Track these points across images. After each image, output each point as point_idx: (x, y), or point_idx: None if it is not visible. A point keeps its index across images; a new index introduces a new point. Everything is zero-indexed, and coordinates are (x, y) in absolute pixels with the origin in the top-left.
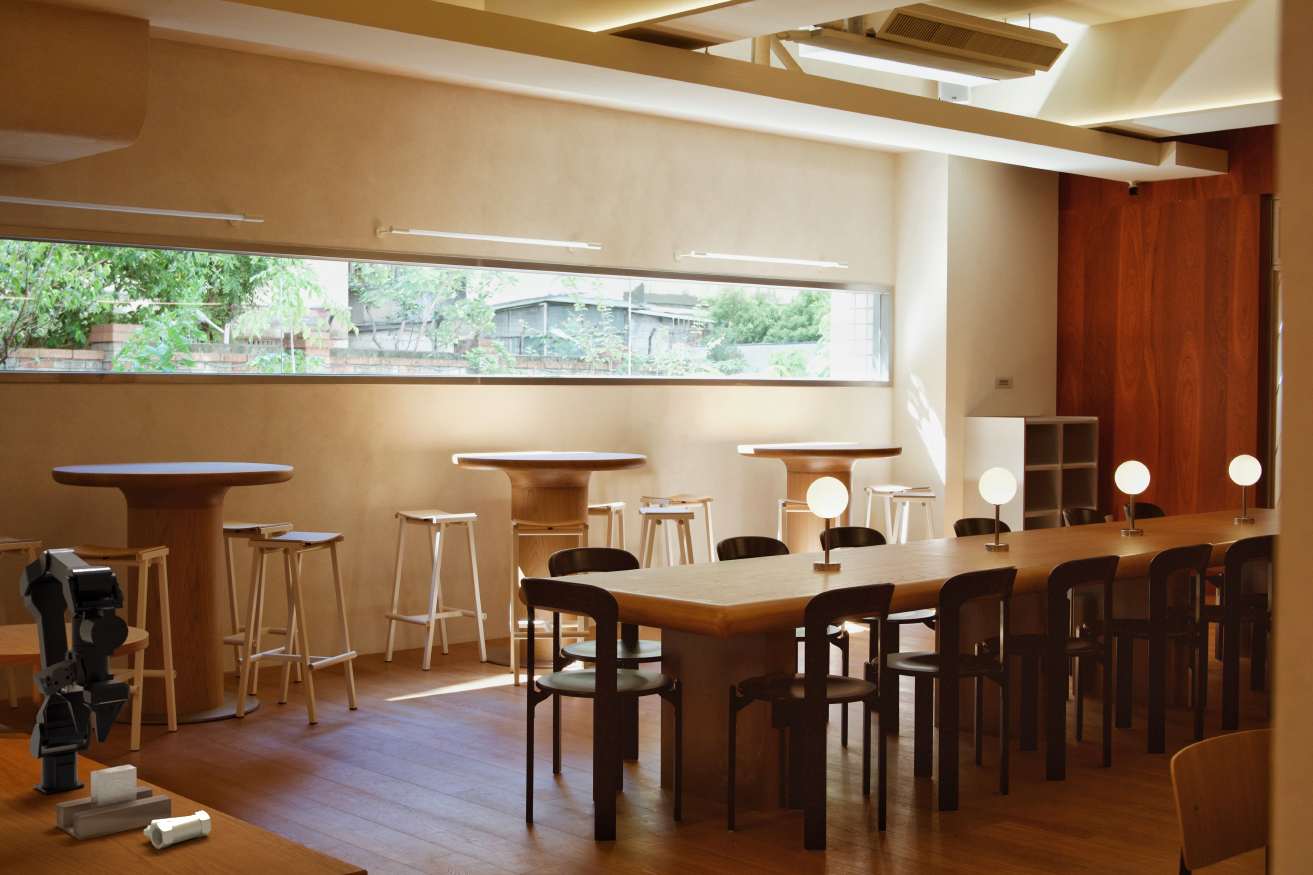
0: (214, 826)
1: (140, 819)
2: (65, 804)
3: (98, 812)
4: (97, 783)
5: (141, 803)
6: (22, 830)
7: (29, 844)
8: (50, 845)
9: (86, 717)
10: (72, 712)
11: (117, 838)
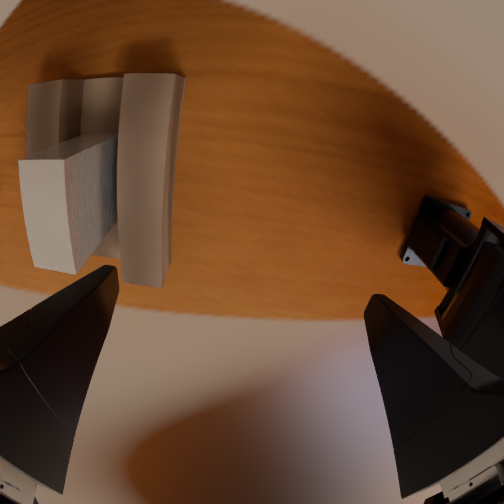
0: (10, 266)
1: None
2: (148, 87)
3: (33, 126)
4: (35, 153)
5: None
6: (219, 18)
7: (110, 3)
8: (72, 33)
9: (383, 369)
10: (439, 350)
11: None
